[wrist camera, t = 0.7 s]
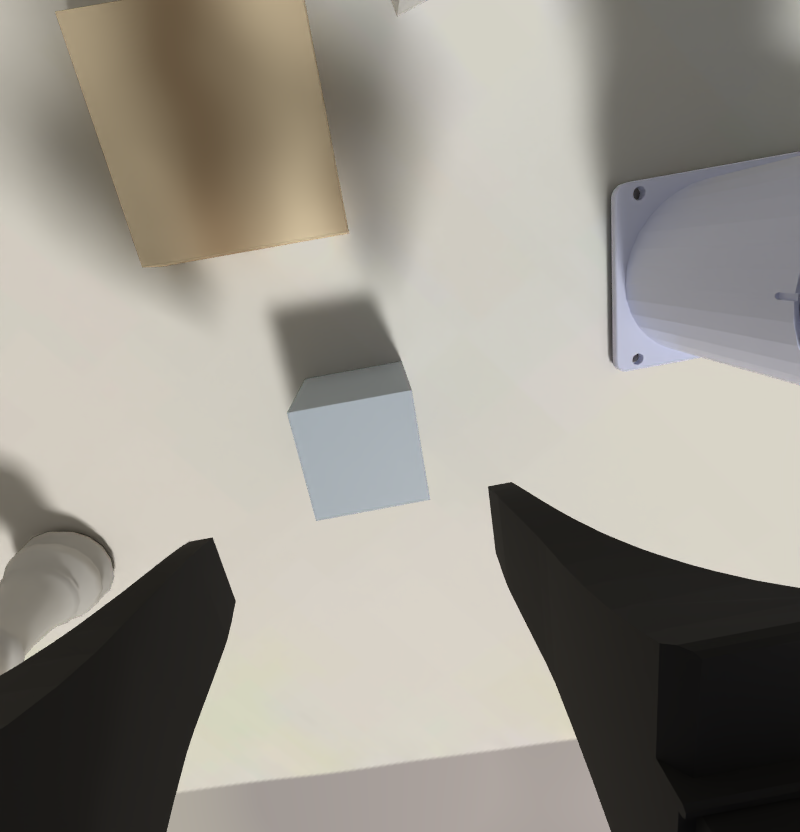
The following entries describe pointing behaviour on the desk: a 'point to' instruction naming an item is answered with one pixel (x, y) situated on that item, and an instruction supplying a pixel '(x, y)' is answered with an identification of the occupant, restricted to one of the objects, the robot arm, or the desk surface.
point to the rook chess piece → (49, 589)
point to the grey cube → (405, 5)
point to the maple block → (209, 123)
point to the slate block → (359, 441)
